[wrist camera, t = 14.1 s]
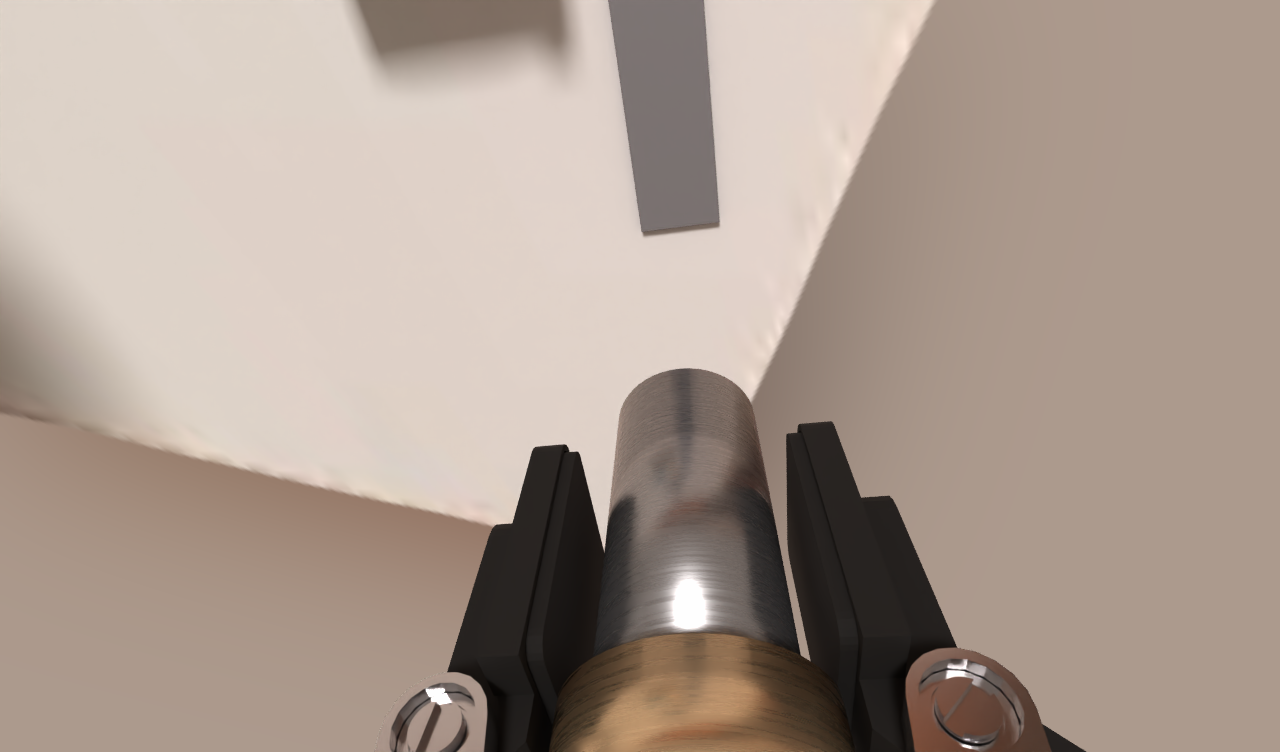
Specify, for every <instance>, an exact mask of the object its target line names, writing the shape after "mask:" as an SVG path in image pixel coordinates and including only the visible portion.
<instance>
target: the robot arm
mask: <svg viewBox="0 0 1280 752" xmlns="http://www.w3.org/2000/svg"><path fill="white" fill-rule="evenodd" d="M786 445H787V446H786V452H787V540H788V552H789V559H790V564H791V569H792V574H793V579H794V583H795V588H796V593H797V598H798V602H799V607H800V612H801V617H802V621H803V626H804V631H805V636H806V640H807V645H808V650H809V655H810V659H811V662H812V663H814V664H815V665H817V666H818V667H819V668H820V669H821V670H823V671H824V672H825V673H826V674H827V675H828V676H829V677H830V678H831V679H832V681H833V682H834V683H835V684H836V686H837V688H838V689H839V691H840V693H841V695H842V699H843V702H844V705H845V709H846V714H847V718H848V722H849V726H850V730H851V735H852V739H853V743H854V747H855V751H856V752H1086V751H1084V750H1083V749H1081V748H1079V747H1078V746H1076V745H1075V744H1073V743H1071V742H1070V741H1068V740H1067V739H1065V738H1063V737H1062V736H1060V735H1059V734H1057V733H1056V732H1054V731H1052V730H1051V729H1049V728H1048V727H1046V726H1044V725H1043V724H1042V723H1041V719H1040V716H1039V713H1038V711H1037V708H1036V706H1035V704H1034V702H1033V700H1032V698H1031V696H1030V694H1029V692H1028V690H1027V689H1026V688H1025V687H1024V686H1023V684H1022V683H1021V682H1020V681H1019V680H1018V679H1017V678H1016V677H1015V675H1014V674H1013V673H1012V672H1010V671H1009V670H1007V669H1006V668H1005V667H1003V666H1002V665H1001V664H999V663H998V662H997V661H995V660H993V659H991V658H989V657H986V656H984V655H982V654H980V653H977V652H975V651H970V650H965V649H961V648H957V646H956V644H955V641H954V639H953V637H952V635H951V632H950V630H949V628H948V625H947V623H946V620H945V618H944V616H943V614H942V611H941V609H940V607H939V604H938V602H937V599H936V597H935V595H934V592H933V590H932V588H931V585H930V583H929V581H928V578H927V576H926V574H925V571H924V569H923V567H922V564H921V562H920V560H919V557H918V555H917V553H916V550H915V548H914V546H913V543H912V541H911V539H910V537H909V534H908V532H907V530H906V527H905V525H904V522H903V520H902V518H901V515H900V513H899V511H898V509H897V507H896V504H895V503H894V501H893V499H892V498H891V497H890V496H879V497H867V498H866V497H865V498H861V497H860V494H859V491H858V489H857V486H856V483H855V480H854V478H853V475H852V472H851V469H850V467H849V464H848V461H847V459H846V456H845V453H844V451H843V448H842V445H841V442H840V439H839V437H838V434H837V431H836V429H835V426H834V424H833V422H831V421H830V422H818V423H807V424H799V425H798V432H797V433H791V434H787V436H786ZM603 563H604V550H603V546H602V542H601V538H600V534H599V530H598V526H597V521H596V517H595V513H594V509H593V505H592V501H591V497H590V493H589V489H588V485H587V481H586V477H585V473H584V469H583V465H582V461H581V457H580V454H579V452H569V449H568V447H567V445H565V444H564V445H552V446H540V447H535V448H534V449H533V451H532V454H531V457H530V461H529V465H528V468H527V472H526V476H525V479H524V483H523V487H522V490H521V494H520V498H519V501H518V505H517V509H516V512H515V516H514V520H513V523H512V524H499V525H495V526H494V528H493V529H492V531H491V533H490V536H489V538H488V541H487V545H486V548H485V551H484V554H483V558H482V561H481V564H480V568H479V571H478V574H477V577H476V580H475V584H474V587H473V590H472V593H471V597H470V600H469V603H468V607H467V610H466V613H465V616H464V619H463V623H462V626H461V629H460V633H459V636H458V639H457V642H456V645H455V649H454V652H453V655H452V658H451V662H450V665H449V668H448V671H447V673H439V674H436V675H433V676H430V677H427V678H425V679H423V680H422V681H420V682H418V683H417V684H415V685H413V686H412V687H410V688H409V689H408V690H407V691H406V692H405V693H404V694H403V695H402V696H401V697H400V698H399V699H398V700H396V702H395V703H394V705H393V706H392V708H391V709H390V711H389V712H388V713H387V715H386V716H385V719H384V721H383V724H382V727H381V729H380V732H379V735H378V739H377V743H376V747H375V752H549V748H550V741H551V735H552V728H553V721H554V715H555V708H556V702H557V698H558V694H559V692H560V690H561V688H562V686H563V684H564V683H565V681H566V680H567V679H568V678H569V676H570V675H571V674H572V673H573V672H574V671H575V670H576V669H578V668H579V667H580V666H581V665H582V664H584V663H585V662H587V661H588V660H590V659H591V658H593V655H594V646H595V637H596V628H597V618H598V609H599V600H600V590H601V581H602V572H603Z"/></svg>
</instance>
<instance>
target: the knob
mask: <svg viewBox="0 0 1280 752" xmlns="http://www.w3.org/2000/svg"><path fill="white" fill-rule="evenodd" d="M549 752H856V751H855V747H854V743H853V739H852V735H851V730H850V726H849V722H848V718H847V714H846V709H845V705H844V702H843V699H842V695H841V693H840V691H839V689H838V688H837V686H836V684H835V683H834V682H833V681H832V679H831V678H830V677H829V676H828V675H827V674H826V673H825V672H824V671H823V670H821V669H820V668H819V667H818V666H817V665H815V664H814V663H812V662H810V661H809V660H807V659H805V658H804V657H802V656H801V655H800V649H799V644H798V639H797V634H796V629H795V623H794V619H793V613H792V608H791V602H790V597H789V592H788V587H787V581H786V576H785V571H784V566H783V561H782V556H781V550H780V545H779V540H778V535H777V530H776V525H775V519H774V514H773V509H772V503H771V499H770V493H769V488H768V483H767V478H766V472H765V467H764V462H763V457H762V451H761V447H760V441H759V436H758V431H757V426H756V420H755V415H754V411H753V408H752V405H751V403H750V401H749V399H748V397H747V396H746V394H745V393H744V392H743V391H742V390H741V389H740V388H739V387H738V386H737V385H736V384H735V383H733V382H732V381H730V380H729V379H727V378H725V377H723V376H721V375H719V374H716V373H713V372H710V371H706V370H701V369H690V368H688V369H675V370H669V371H666V372H662V373H659V374H657V375H654V376H652V377H650V378H648V379H646V380H645V381H643V382H642V383H640V384H639V385H638V386H637V387H636V388H635V389H633V390H632V392H631V393H630V394H629V395H628V397H627V398H626V400H625V402H624V403H623V406H622V408H621V411H620V416H619V423H618V433H617V442H616V451H615V460H614V470H613V479H612V488H611V498H610V507H609V516H608V525H607V535H606V544H605V553H604V563H603V572H602V581H601V590H600V600H599V609H598V618H597V628H596V637H595V646H594V655H593V658H591V659H590V660H588V661H587V662H585V663H584V664H582V665H581V666H580V667H579V668H578V669H576V670H575V671H574V672H573V673H572V674H571V675H570V676H569V678H568V679H567V680H566V681H565V683H564V684H563V686H562V688H561V690H560V692H559V694H558V698H557V702H556V708H555V715H554V721H553V728H552V735H551V741H550V748H549Z"/></svg>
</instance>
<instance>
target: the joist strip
mask: <svg viewBox="0 0 1280 752" xmlns="http://www.w3.org/2000/svg"><path fill="white" fill-rule="evenodd" d="M608 1H609V8H610V15H611V22H612V29H613V36H614V42H615V49H616V56H617V63H618V70H619V77H620V84H621V91H622V98H623V105H624V112H625V119H626V126H627V133H628V140H629V147H630V154H631V161H632V168H633V175H634V182H635V189H636V196H637V203H638V210H639V217H640V224H641V231H642V232H644V231H652V230H660V229H668V228H676V227H684V226H692V225H700V224H708V223H716V222H719V209H718V196H717V182H716V168H715V154H714V140H713V126H712V112H711V98H710V84H709V70H708V56H707V42H706V29H705V15H704V1H703V0H608Z"/></svg>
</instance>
